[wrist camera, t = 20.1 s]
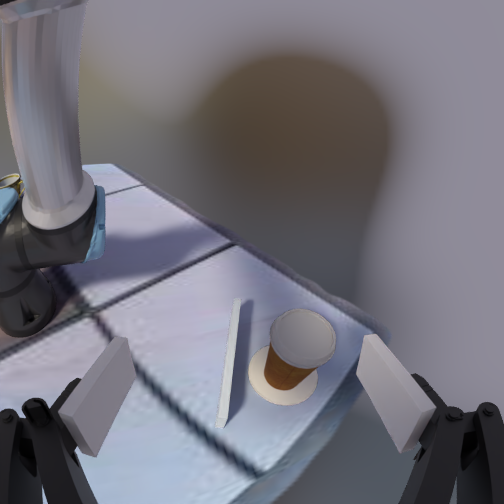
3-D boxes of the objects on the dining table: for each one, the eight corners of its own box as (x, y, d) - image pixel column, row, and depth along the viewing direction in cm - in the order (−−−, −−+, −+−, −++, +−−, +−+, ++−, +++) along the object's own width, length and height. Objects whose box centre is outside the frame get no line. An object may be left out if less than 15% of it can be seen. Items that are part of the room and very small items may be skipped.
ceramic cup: (-5, 216, 57) (-11, 188, 51) (8, 201, 65) (3, 174, 59) (24, 215, 61) (18, 185, 55) (36, 199, 69) (31, 171, 63)
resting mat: (242, 347, 46) (242, 345, 46) (305, 342, 49) (306, 341, 49) (255, 410, 37) (256, 409, 37) (325, 399, 40) (326, 398, 40)
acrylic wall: (223, 428, 34) (227, 418, 31) (215, 427, 34) (218, 417, 31) (236, 317, 51) (241, 299, 48) (230, 316, 51) (234, 298, 48)
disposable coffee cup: (279, 341, 48) (300, 296, 41) (319, 375, 43) (350, 334, 36) (241, 371, 42) (257, 328, 35) (285, 410, 37) (314, 376, 30)
